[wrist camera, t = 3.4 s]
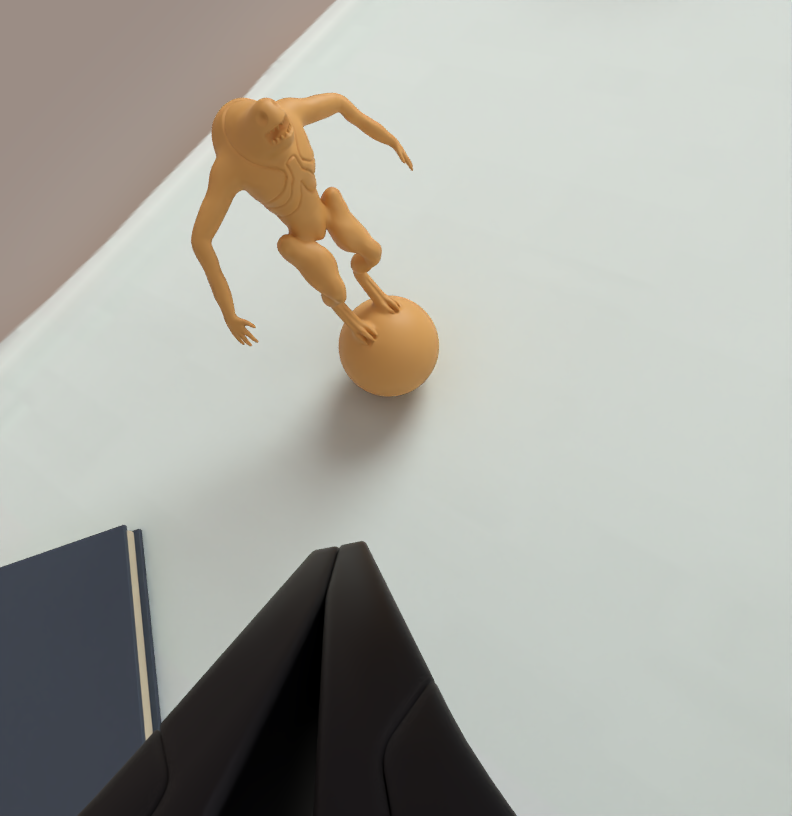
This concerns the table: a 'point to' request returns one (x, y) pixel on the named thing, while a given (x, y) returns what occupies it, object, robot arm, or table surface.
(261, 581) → the table surface
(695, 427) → the table surface
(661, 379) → the table surface
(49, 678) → the notebook
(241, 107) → the figurine
